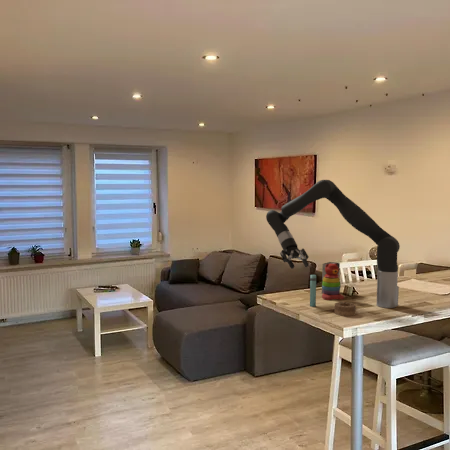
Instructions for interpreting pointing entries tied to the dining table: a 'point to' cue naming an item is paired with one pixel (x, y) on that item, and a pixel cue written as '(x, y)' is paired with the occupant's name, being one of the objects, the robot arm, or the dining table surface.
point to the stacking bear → (331, 283)
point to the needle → (312, 290)
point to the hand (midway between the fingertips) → (300, 267)
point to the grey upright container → (324, 269)
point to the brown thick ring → (345, 309)
